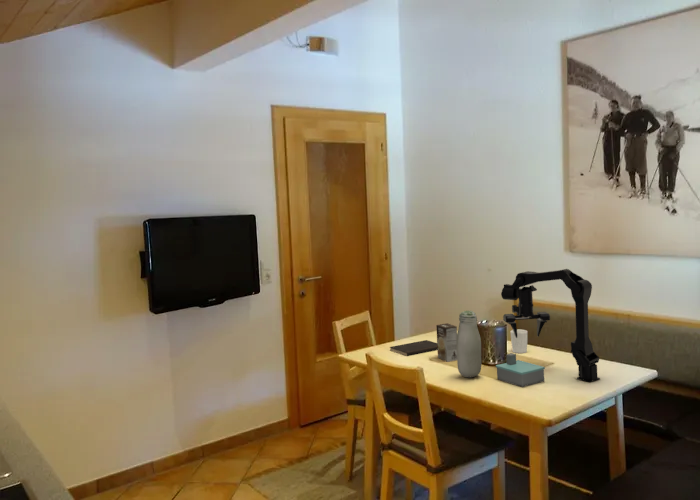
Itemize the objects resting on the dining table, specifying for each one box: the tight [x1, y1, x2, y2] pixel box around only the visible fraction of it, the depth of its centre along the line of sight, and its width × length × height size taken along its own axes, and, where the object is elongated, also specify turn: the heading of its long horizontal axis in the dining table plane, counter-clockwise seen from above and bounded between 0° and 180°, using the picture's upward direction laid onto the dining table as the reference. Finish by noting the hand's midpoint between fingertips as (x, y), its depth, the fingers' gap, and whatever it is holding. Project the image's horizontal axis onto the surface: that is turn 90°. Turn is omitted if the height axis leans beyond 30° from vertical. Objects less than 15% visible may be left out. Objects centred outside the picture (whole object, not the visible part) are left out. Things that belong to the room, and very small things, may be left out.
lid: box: [495, 352, 546, 375], centre depth 246 cm, size 15×13×6 cm
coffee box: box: [436, 323, 458, 363], centre depth 286 cm, size 9×6×16 cm
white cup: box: [509, 329, 528, 354], centre depth 292 cm, size 8×8×10 cm
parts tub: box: [496, 367, 545, 388], centre depth 247 cm, size 14×12×5 cm
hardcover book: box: [389, 339, 438, 357], centre depth 308 cm, size 16×23×2 cm
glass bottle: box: [456, 310, 482, 378], centre depth 255 cm, size 10×10×28 cm
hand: (527, 336), depth 261 cm, fingers open, 9 cm apart
